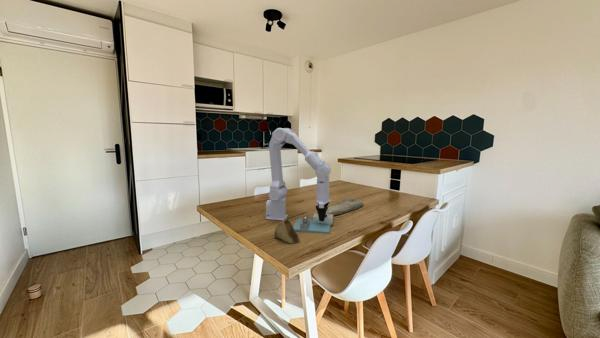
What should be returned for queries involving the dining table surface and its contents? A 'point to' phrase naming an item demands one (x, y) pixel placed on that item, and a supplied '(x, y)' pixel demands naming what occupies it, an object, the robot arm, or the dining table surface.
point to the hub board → (313, 227)
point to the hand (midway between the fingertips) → (322, 218)
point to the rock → (286, 232)
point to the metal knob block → (305, 223)
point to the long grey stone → (344, 206)
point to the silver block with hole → (327, 220)
